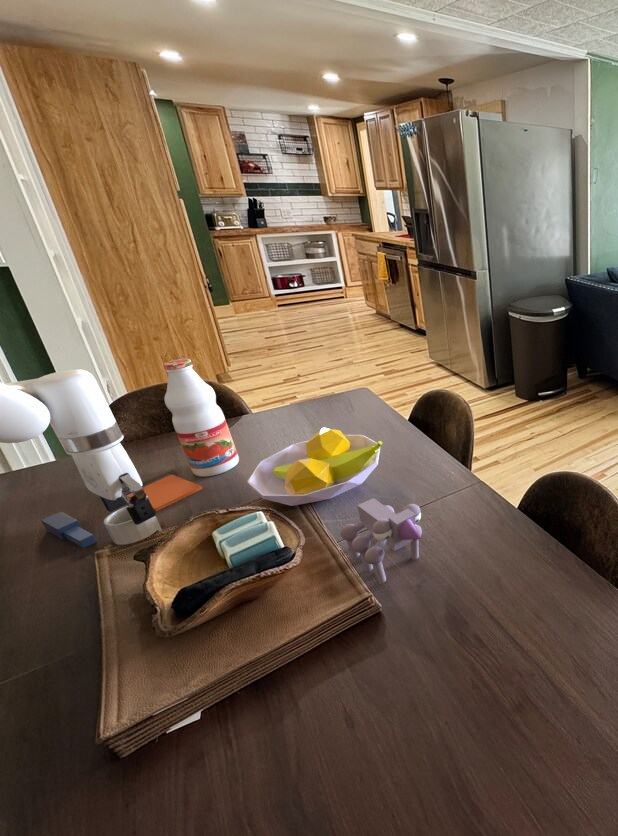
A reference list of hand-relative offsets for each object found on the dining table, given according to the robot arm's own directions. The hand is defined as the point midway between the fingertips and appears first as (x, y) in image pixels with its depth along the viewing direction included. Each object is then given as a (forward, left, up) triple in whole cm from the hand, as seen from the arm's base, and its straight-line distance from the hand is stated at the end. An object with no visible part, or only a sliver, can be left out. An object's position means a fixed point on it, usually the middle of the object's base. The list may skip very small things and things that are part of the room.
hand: (132, 513), depth 92 cm
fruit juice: (+21, +14, -6) cm, 26 cm away
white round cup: (-1, 0, -6) cm, 6 cm away
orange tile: (+10, +13, -6) cm, 17 cm away
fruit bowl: (+27, -18, -6) cm, 33 cm away
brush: (-6, +13, -6) cm, 15 cm away
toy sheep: (+14, -53, -6) cm, 55 cm away
